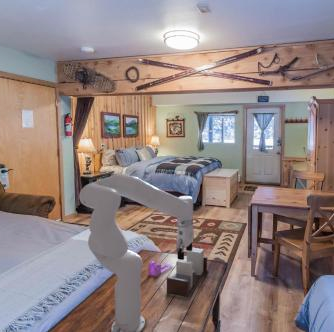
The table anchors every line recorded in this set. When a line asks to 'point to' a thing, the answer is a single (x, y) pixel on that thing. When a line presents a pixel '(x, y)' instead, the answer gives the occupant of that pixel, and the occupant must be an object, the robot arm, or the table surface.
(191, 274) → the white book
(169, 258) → the table surface
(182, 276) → the grey books
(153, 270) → the bracket
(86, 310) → the table surface
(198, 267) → the white books
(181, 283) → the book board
